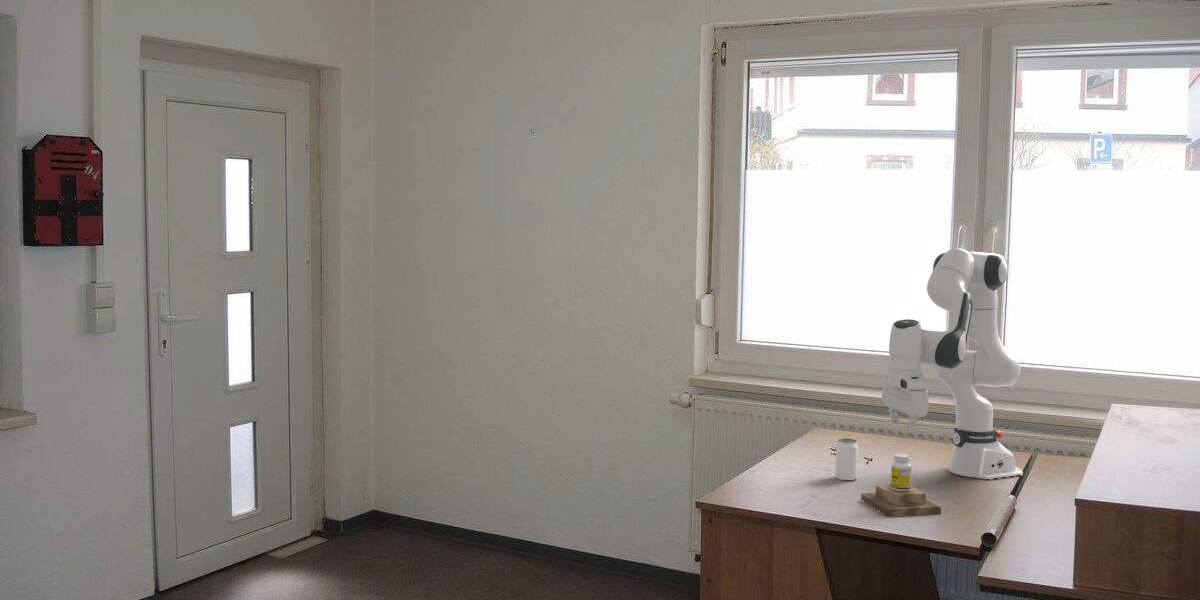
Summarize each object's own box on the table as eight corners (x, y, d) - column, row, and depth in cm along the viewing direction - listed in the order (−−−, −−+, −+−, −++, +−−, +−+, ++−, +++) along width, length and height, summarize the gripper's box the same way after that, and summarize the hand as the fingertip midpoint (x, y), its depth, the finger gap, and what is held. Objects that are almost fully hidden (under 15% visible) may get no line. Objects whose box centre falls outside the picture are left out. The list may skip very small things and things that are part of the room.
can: (857, 481, 319) (858, 443, 318) (835, 480, 321) (836, 442, 320) (856, 476, 326) (857, 438, 325) (835, 475, 327) (836, 437, 326)
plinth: (912, 497, 303) (912, 480, 302) (940, 513, 287) (941, 495, 287) (860, 500, 300) (861, 483, 299) (886, 516, 284) (887, 498, 283)
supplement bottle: (888, 486, 295) (889, 453, 294) (906, 486, 296) (907, 452, 295) (894, 492, 290) (896, 457, 289) (913, 491, 290) (915, 457, 290)
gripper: (876, 372, 299) (875, 419, 301) (911, 385, 279) (909, 435, 281) (897, 371, 301) (895, 419, 302) (933, 384, 281) (931, 434, 282)
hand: (902, 427), depth 291 cm, fingers open, 8 cm apart
